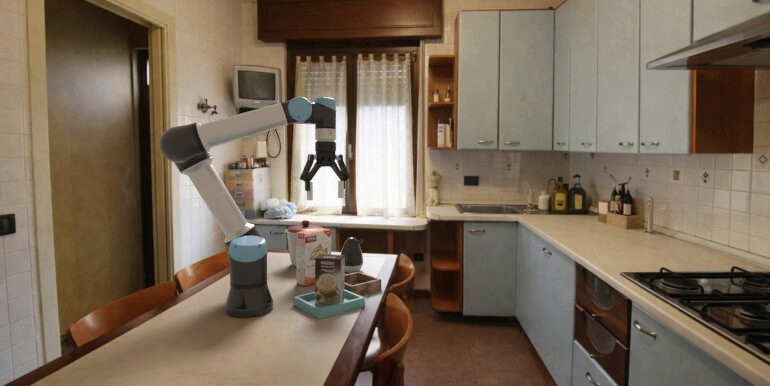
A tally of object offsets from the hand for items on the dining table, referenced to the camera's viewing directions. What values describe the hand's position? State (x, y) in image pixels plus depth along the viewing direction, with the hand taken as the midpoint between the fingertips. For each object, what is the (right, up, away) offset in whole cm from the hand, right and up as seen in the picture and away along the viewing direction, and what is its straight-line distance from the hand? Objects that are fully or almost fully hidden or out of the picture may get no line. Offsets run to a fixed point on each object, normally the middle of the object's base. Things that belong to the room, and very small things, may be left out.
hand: (325, 199), depth 158 cm
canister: (-15, -31, +41) cm, 53 cm away
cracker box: (-7, -34, +15) cm, 37 cm away
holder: (+11, -34, +6) cm, 36 cm away
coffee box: (+3, -35, -13) cm, 37 cm away
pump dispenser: (+7, -32, +31) cm, 45 cm away
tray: (+3, -36, -13) cm, 38 cm away
